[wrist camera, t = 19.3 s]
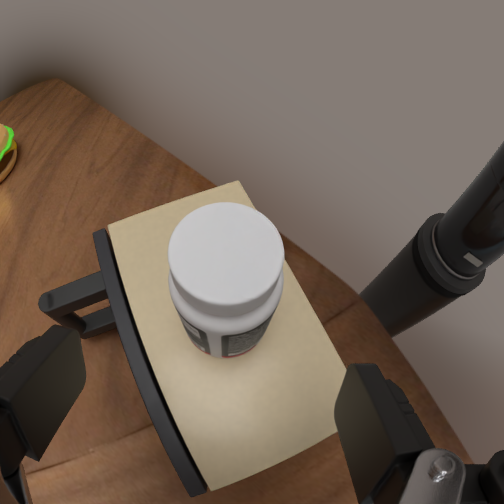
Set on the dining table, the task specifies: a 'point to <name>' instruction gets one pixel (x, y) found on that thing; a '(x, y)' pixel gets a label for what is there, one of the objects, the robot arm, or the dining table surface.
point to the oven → (229, 369)
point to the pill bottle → (225, 276)
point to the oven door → (121, 317)
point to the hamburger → (7, 151)
